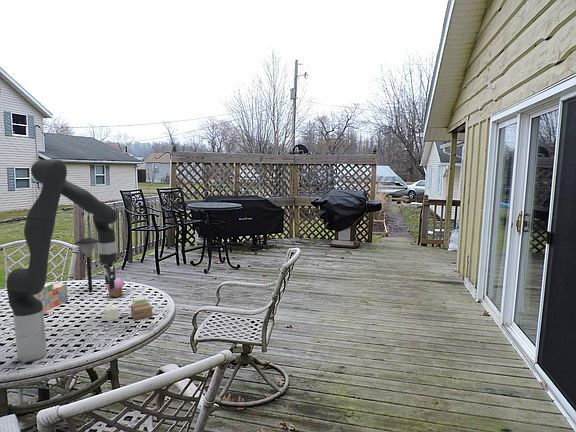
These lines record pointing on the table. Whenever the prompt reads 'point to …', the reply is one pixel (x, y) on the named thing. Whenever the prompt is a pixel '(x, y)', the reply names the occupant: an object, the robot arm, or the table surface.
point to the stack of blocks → (52, 295)
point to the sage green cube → (139, 300)
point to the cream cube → (111, 313)
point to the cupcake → (116, 288)
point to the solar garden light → (88, 255)
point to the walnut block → (141, 311)
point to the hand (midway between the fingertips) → (110, 286)
